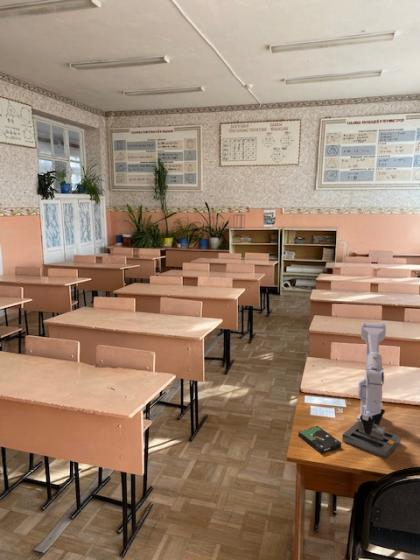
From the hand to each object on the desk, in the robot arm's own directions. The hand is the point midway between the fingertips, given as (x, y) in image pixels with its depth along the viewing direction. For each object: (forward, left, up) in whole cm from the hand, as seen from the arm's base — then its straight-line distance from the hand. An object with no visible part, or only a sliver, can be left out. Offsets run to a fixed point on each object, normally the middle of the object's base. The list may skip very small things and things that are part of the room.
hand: (371, 429), depth 172 cm
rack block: (0, 0, -5) cm, 5 cm away
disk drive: (+14, -16, -6) cm, 22 cm away
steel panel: (0, 0, -4) cm, 4 cm away
